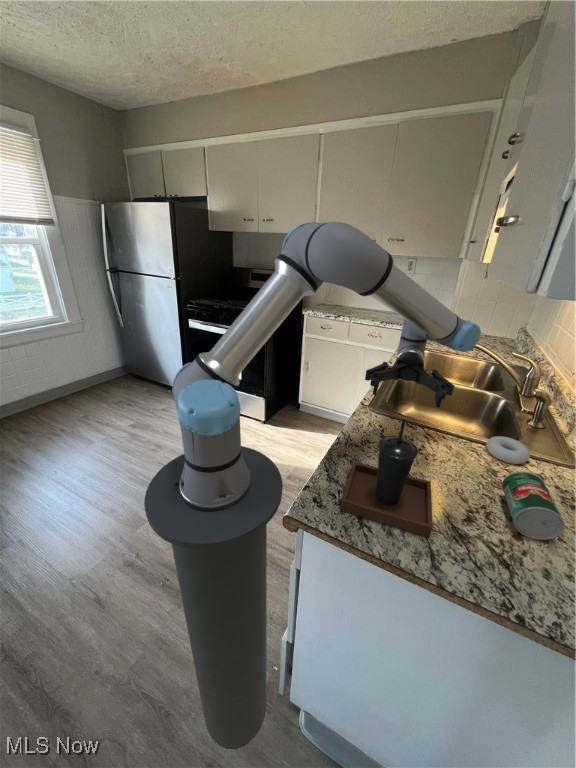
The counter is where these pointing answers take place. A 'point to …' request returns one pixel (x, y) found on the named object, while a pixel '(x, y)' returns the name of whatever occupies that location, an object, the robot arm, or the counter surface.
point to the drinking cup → (394, 466)
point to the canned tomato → (532, 506)
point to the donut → (508, 450)
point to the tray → (404, 515)
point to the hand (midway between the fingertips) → (406, 395)
